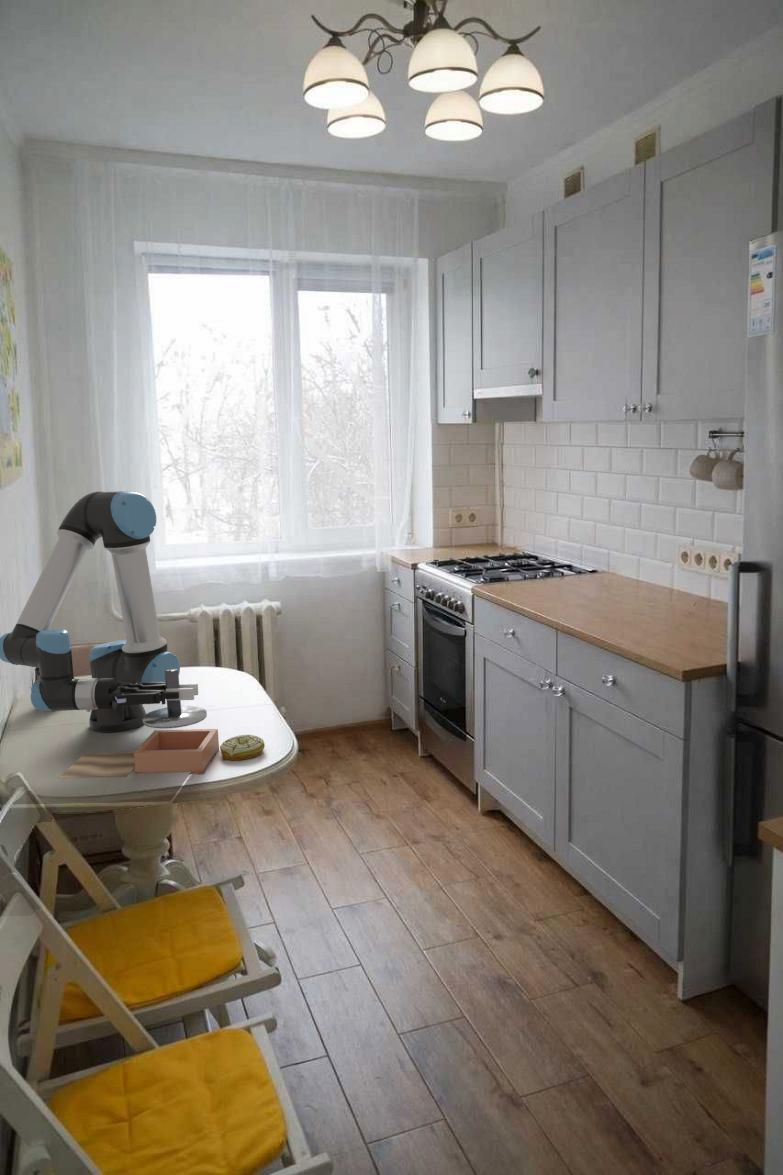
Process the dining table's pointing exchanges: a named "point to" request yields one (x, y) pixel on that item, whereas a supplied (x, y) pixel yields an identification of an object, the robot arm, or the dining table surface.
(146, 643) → the robot arm
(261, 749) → the decorated donut
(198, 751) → the terracotta square tray
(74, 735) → the dining table surface
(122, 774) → the trivet
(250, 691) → the dining table surface
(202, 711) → the lid
